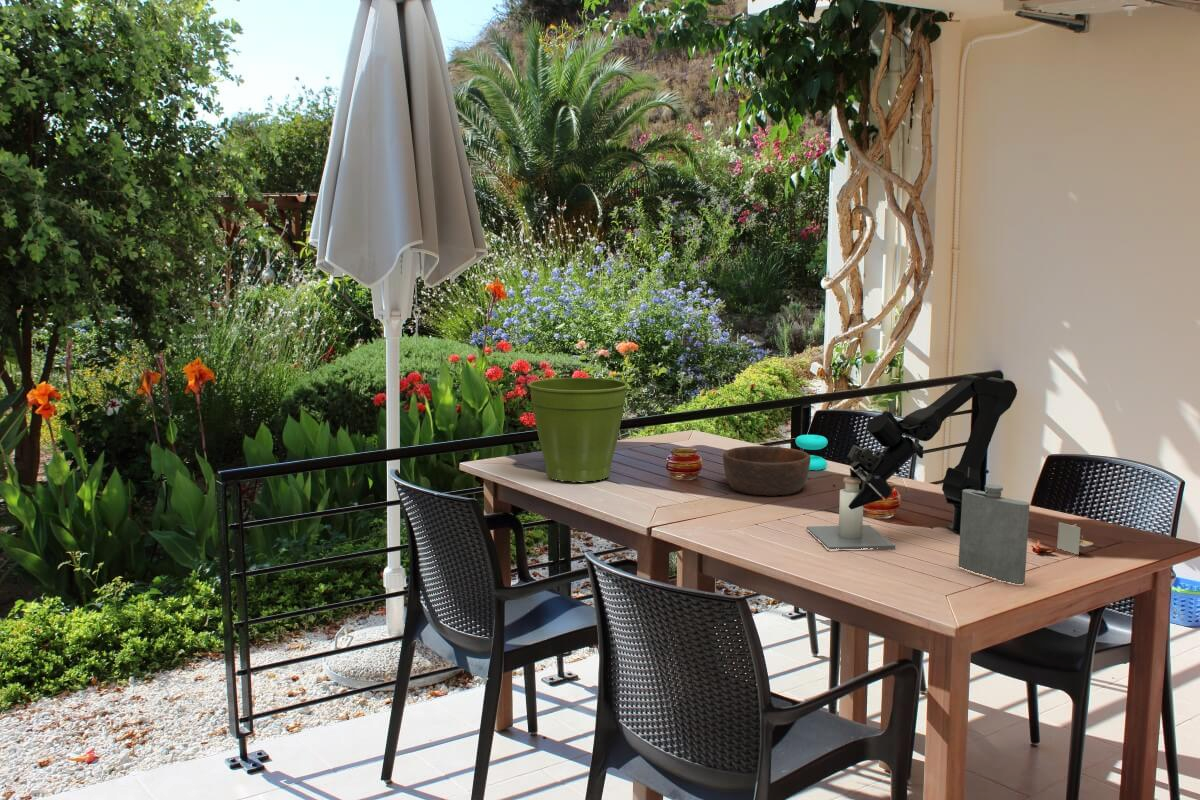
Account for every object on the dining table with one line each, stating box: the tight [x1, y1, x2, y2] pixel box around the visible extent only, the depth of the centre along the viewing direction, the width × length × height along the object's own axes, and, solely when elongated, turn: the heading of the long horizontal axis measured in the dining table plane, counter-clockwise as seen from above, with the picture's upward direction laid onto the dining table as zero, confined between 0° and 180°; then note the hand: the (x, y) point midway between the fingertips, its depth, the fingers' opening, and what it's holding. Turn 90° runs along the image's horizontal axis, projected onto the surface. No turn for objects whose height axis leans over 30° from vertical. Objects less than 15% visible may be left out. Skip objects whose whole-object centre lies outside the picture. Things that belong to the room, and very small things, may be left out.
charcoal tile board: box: [806, 524, 897, 550], centre depth 260 cm, size 18×16×1 cm
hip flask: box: [958, 484, 1030, 584], centre depth 231 cm, size 16×4×20 cm, turn 34°
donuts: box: [794, 434, 829, 471], centre depth 340 cm, size 10×10×10 cm
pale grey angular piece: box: [1056, 521, 1094, 556], centre depth 249 cm, size 3×7×7 cm, turn 31°
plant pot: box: [528, 377, 629, 483], centre depth 325 cm, size 30×30×29 cm
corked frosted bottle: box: [838, 476, 864, 539], centre depth 259 cm, size 6×6×14 cm
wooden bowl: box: [722, 445, 811, 497], centre depth 312 cm, size 25×25×10 cm
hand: (845, 503), depth 259 cm, fingers open, 9 cm apart
